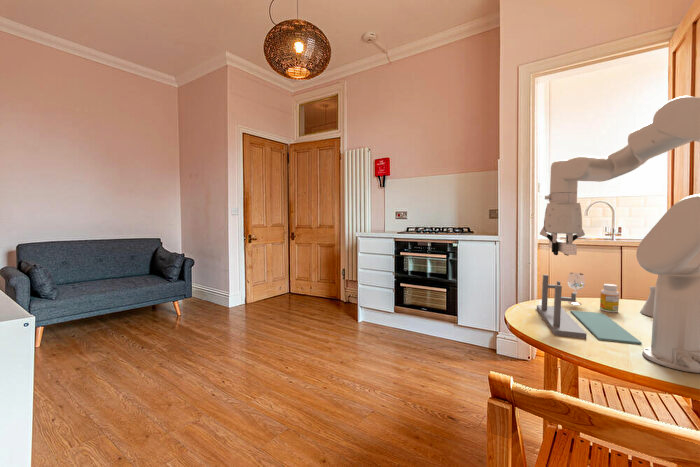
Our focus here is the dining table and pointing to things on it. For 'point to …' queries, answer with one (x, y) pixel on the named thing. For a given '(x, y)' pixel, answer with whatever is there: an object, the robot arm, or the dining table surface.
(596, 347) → the dining table surface
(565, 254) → the robot arm
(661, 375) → the dining table surface
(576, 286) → the wineglass
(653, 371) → the dining table surface
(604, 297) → the supplement bottle
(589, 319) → the teal mat
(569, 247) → the steel rail
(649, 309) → the flask
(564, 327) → the rail stand
